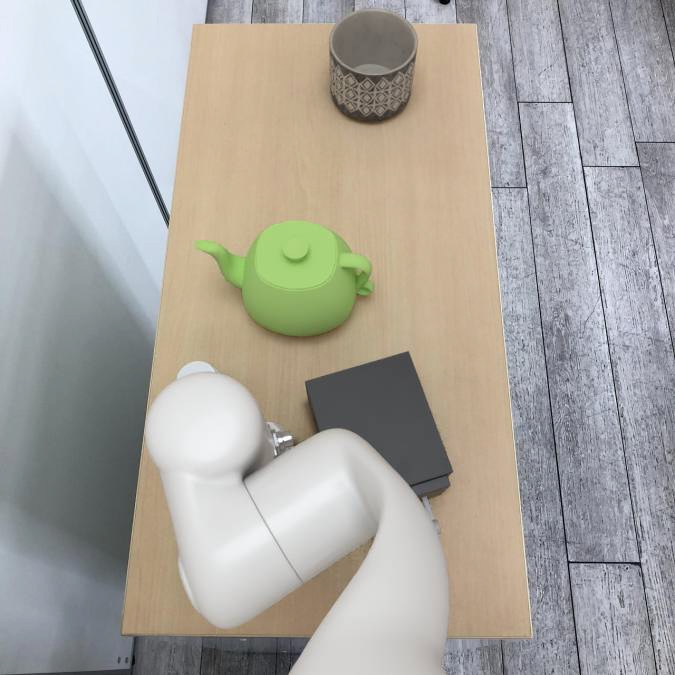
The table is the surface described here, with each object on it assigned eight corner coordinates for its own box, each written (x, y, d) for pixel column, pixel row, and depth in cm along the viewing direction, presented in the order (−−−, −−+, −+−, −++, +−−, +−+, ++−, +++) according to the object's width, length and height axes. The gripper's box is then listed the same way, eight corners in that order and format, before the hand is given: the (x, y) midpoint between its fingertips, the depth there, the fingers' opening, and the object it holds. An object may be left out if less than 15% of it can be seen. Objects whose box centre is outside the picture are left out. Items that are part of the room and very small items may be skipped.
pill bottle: (229, 376, 82) (215, 349, 73) (240, 417, 80) (227, 395, 71) (186, 389, 82) (166, 364, 72) (196, 430, 80) (177, 410, 70)
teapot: (205, 338, 84) (183, 296, 72) (221, 241, 90) (202, 186, 77) (370, 349, 83) (375, 309, 71) (375, 250, 89) (381, 197, 77)
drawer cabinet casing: (440, 485, 77) (453, 471, 68) (342, 516, 76) (342, 506, 67) (401, 376, 82) (408, 350, 73) (308, 403, 81) (304, 381, 72)
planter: (352, 52, 102) (353, -3, 93) (423, 79, 100) (432, 25, 91) (316, 108, 98) (313, 55, 89) (389, 137, 96) (395, 86, 86)
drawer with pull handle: (453, 530, 74) (465, 524, 67) (361, 560, 73) (363, 558, 66) (403, 391, 80) (409, 372, 73) (317, 417, 79) (315, 400, 72)
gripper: (307, 388, 52) (313, 434, 69) (128, 439, 51) (180, 474, 68) (333, 475, 50) (333, 501, 67) (146, 532, 48) (195, 544, 65)
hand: (256, 487), depth 67 cm, fingers closed
